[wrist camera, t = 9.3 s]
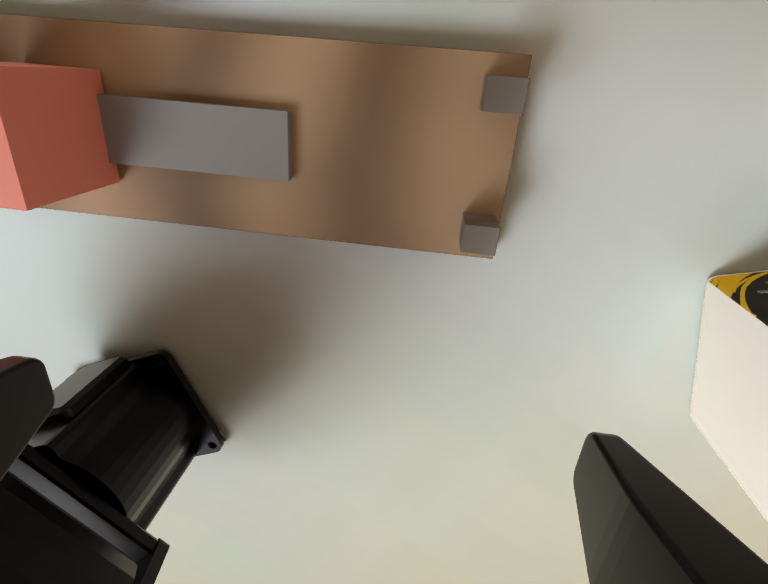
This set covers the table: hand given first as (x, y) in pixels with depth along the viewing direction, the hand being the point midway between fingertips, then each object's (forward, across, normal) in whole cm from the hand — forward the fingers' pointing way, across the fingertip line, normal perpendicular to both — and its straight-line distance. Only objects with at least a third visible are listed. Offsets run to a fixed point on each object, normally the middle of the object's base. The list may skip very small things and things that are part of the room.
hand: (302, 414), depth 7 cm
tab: (+11, +9, -3) cm, 14 cm away
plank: (+12, +7, -3) cm, 14 cm away
